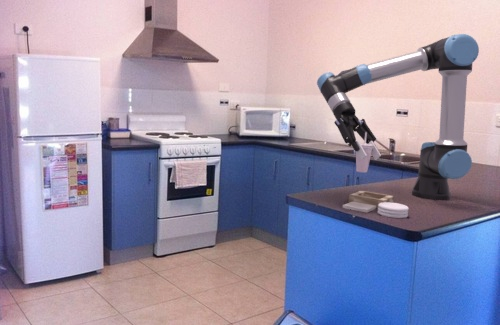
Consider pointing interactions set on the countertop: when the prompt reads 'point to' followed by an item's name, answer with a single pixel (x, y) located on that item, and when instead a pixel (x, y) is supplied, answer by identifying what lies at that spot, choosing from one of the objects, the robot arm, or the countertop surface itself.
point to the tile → (359, 207)
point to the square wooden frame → (370, 198)
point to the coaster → (393, 210)
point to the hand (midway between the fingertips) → (371, 157)
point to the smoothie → (363, 164)
